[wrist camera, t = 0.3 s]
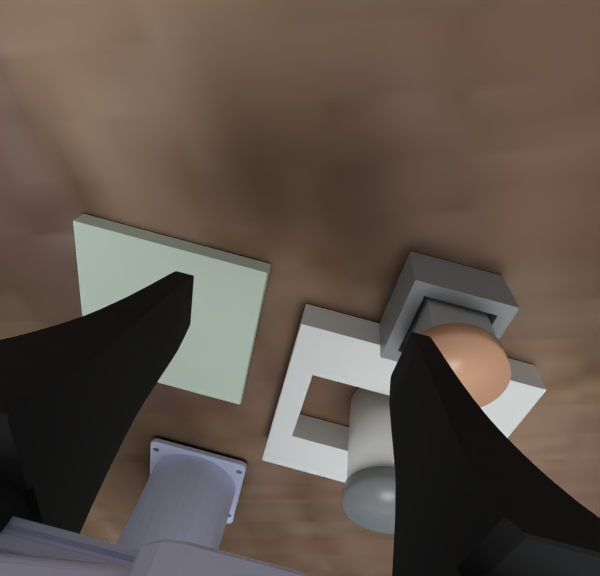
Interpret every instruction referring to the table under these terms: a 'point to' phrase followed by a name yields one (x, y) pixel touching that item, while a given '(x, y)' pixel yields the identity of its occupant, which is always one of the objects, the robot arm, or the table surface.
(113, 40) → the table surface
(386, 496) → the cylinder
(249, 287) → the mat
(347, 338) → the housing
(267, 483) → the table surface
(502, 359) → the plunger
